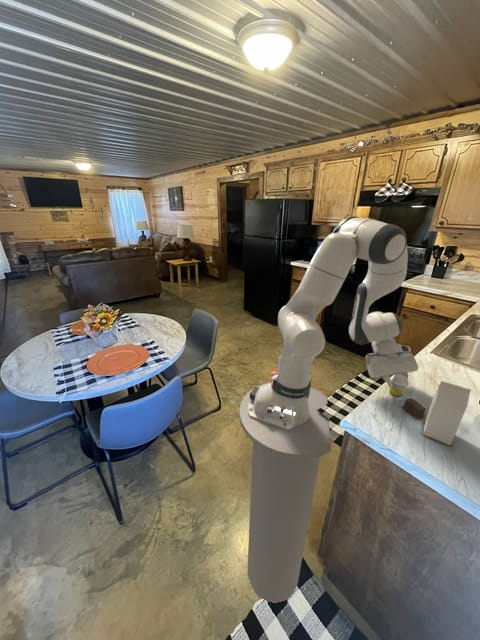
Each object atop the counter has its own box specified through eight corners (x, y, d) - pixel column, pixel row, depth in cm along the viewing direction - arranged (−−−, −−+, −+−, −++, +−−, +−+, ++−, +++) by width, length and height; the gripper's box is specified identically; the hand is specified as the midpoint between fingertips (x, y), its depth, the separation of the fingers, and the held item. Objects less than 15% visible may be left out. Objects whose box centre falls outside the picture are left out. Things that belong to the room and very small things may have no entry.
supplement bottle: (392, 389, 105) (397, 371, 102) (404, 395, 101) (410, 377, 98) (386, 393, 102) (391, 375, 99) (398, 400, 99) (404, 381, 96)
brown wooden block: (423, 417, 92) (426, 408, 91) (416, 419, 92) (419, 410, 90) (409, 406, 98) (412, 397, 96) (402, 407, 97) (405, 398, 95)
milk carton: (450, 446, 81) (471, 396, 74) (423, 434, 85) (440, 386, 78) (450, 432, 86) (470, 384, 79) (424, 422, 90) (441, 375, 83)
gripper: (368, 351, 100) (381, 388, 94) (413, 346, 104) (427, 381, 99) (359, 356, 105) (370, 391, 100) (401, 351, 110) (414, 384, 105)
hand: (399, 386), depth 100 cm, fingers closed on supplement bottle, 5 cm apart
